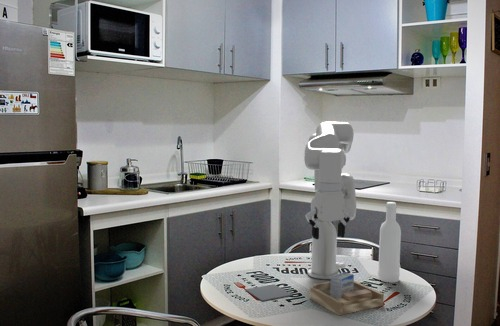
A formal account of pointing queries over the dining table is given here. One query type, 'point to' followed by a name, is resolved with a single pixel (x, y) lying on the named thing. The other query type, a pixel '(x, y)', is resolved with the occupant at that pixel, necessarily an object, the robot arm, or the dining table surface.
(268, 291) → the mat
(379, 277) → the bottle
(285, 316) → the dining table surface
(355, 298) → the offcut stack
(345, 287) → the medicine box
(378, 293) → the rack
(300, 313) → the dining table surface
